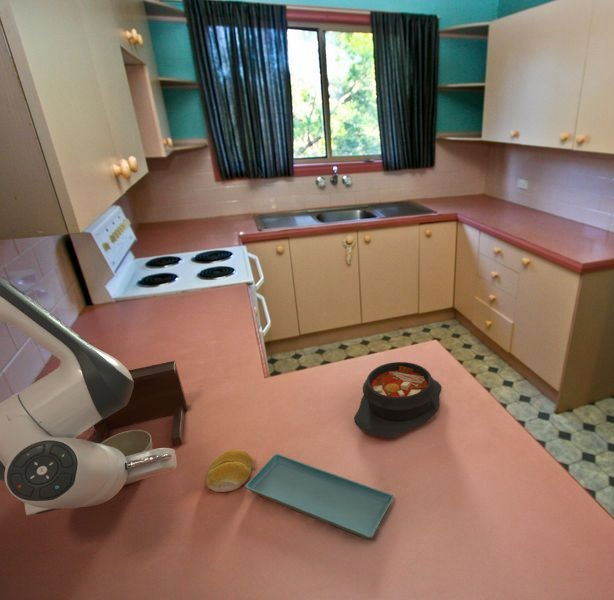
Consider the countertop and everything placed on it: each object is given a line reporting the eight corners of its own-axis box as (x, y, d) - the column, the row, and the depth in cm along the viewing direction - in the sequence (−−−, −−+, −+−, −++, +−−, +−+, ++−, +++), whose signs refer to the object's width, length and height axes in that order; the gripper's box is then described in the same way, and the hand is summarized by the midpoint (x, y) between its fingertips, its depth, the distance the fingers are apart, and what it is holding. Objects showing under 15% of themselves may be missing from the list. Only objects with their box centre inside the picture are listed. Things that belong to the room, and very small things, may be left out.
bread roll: (256, 456, 88) (253, 440, 86) (247, 490, 80) (243, 474, 78) (215, 460, 87) (211, 445, 85) (201, 495, 79) (197, 479, 77)
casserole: (396, 372, 115) (395, 345, 111) (458, 393, 105) (459, 364, 102) (335, 425, 96) (332, 394, 92) (405, 457, 86) (404, 423, 83)
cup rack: (186, 442, 92) (171, 392, 87) (83, 470, 85) (60, 417, 80) (188, 407, 103) (174, 360, 98) (97, 429, 97) (78, 380, 92)
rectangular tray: (395, 503, 76) (394, 492, 75) (372, 547, 69) (371, 536, 68) (277, 461, 86) (275, 452, 85) (245, 496, 78) (243, 486, 77)
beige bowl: (99, 504, 78) (86, 474, 75) (105, 467, 86) (94, 440, 83) (160, 483, 82) (150, 454, 79) (160, 450, 90) (151, 423, 87)
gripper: (165, 434, 70) (182, 443, 82) (12, 474, 63) (55, 477, 75) (169, 474, 68) (186, 477, 80) (12, 520, 61) (57, 515, 73)
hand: (122, 477), depth 78 cm, fingers closed, pressing on beige bowl
